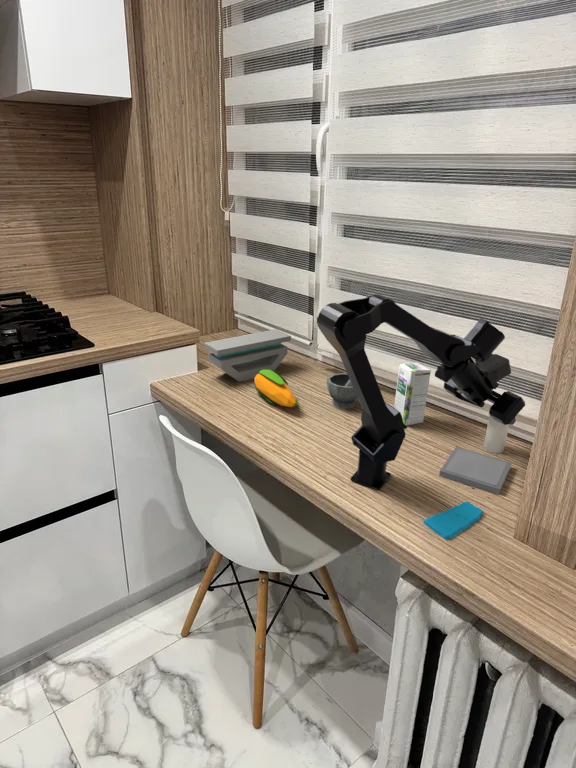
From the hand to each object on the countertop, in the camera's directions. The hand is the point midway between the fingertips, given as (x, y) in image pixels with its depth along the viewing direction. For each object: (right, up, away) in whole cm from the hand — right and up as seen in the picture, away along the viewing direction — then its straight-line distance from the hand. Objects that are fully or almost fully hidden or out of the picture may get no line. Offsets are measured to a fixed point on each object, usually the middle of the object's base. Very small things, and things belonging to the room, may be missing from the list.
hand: (497, 414), depth 118 cm
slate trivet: (-7, -12, -6) cm, 15 cm away
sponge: (-16, -19, -21) cm, 32 cm away
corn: (-50, +2, +25) cm, 56 cm away
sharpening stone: (-59, +10, +42) cm, 73 cm away
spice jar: (+1, -8, +4) cm, 9 cm away
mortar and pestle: (-31, +1, +23) cm, 39 cm away
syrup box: (-16, -3, +16) cm, 23 cm away
